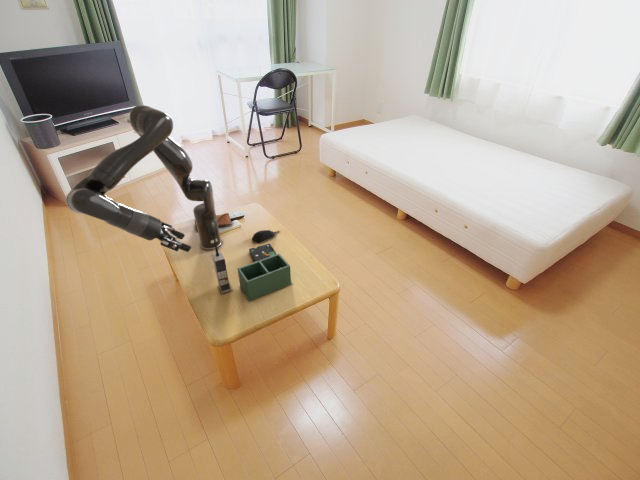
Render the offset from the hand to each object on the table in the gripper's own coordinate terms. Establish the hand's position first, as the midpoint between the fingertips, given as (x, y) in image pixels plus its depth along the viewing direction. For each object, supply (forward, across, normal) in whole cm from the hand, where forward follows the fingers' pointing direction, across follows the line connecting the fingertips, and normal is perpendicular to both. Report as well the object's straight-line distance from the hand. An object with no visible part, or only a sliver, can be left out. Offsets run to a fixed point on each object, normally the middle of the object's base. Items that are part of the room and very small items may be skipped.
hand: (186, 242), depth 117 cm
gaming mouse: (+47, +25, -9) cm, 54 cm away
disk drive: (+41, +9, -3) cm, 43 cm away
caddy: (+36, -7, +1) cm, 37 cm away
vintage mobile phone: (+26, 0, +12) cm, 28 cm away
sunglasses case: (+34, +49, +4) cm, 60 cm away
